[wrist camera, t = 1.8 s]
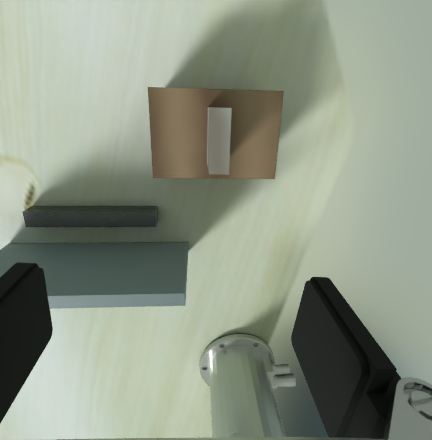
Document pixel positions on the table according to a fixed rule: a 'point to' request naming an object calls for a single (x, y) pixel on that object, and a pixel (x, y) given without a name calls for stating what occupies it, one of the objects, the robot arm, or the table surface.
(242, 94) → the walnut cabinet
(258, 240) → the table surface
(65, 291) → the wall board
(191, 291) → the table surface
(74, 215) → the rail
